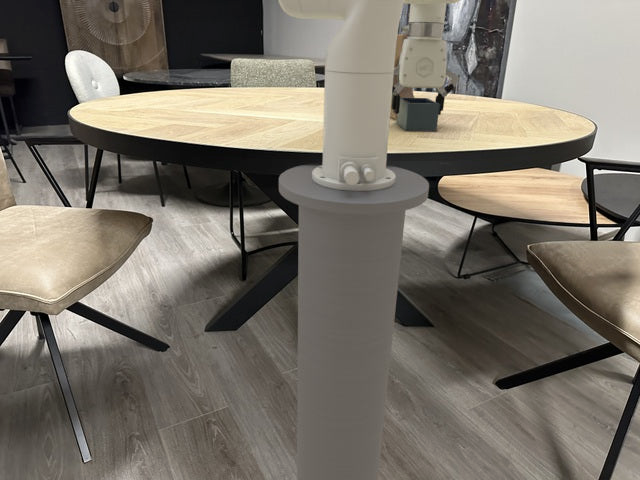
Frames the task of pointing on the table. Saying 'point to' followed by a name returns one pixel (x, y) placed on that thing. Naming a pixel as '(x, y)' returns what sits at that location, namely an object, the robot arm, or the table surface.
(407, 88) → the decorative block
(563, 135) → the table surface
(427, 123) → the box
